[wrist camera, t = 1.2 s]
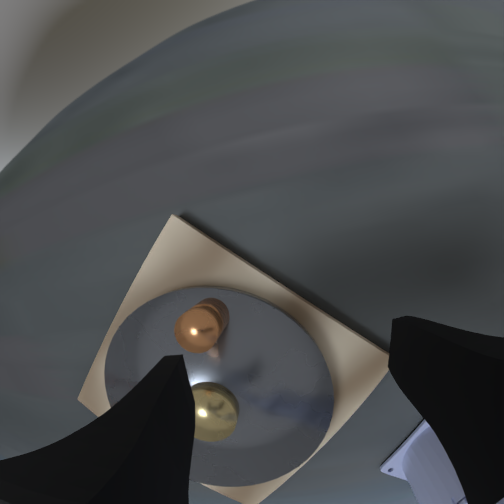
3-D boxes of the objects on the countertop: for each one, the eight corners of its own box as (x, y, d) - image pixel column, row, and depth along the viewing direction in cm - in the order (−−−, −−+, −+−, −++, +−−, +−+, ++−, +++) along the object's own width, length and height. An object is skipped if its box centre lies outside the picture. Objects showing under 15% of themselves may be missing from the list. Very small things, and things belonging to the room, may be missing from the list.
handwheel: (377, 367, 17) (402, 401, 13) (248, 500, 18) (242, 541, 14) (174, 236, 18) (141, 235, 13) (88, 401, 19) (54, 428, 15)
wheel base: (390, 354, 19) (396, 360, 17) (254, 498, 20) (252, 507, 19) (178, 215, 20) (171, 214, 18) (84, 393, 21) (77, 399, 20)
